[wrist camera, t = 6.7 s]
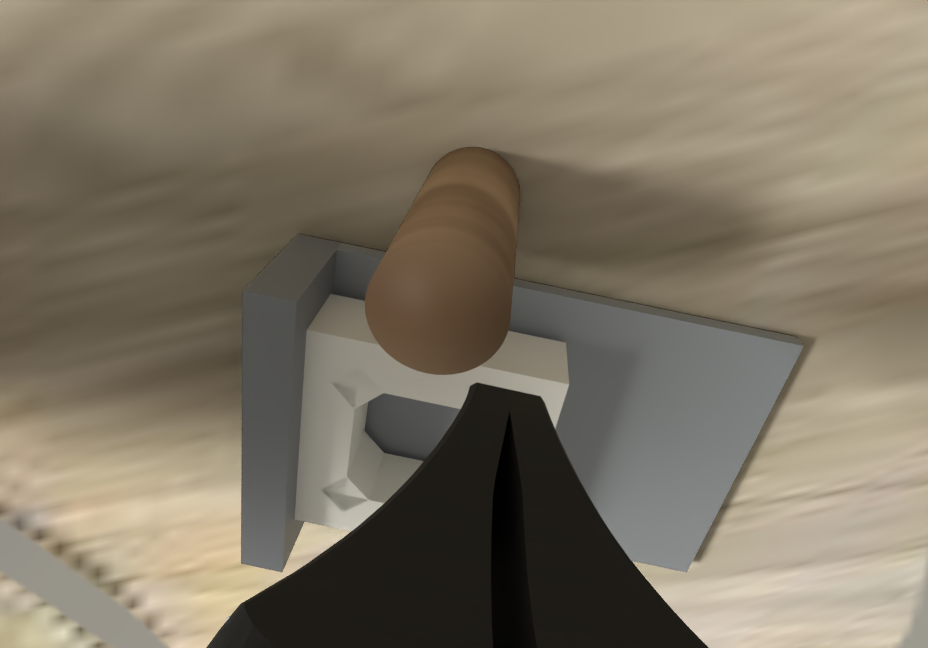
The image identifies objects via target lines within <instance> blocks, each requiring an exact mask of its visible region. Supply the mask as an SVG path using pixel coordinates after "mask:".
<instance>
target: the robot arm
mask: <svg viewBox="0 0 928 648" xmlns="http://www.w3.org/2000/svg"><path fill="white" fill-rule="evenodd" d="M207 648H708V647H707V646H706V645H705V644H704V643H703V642H702V641H701V640H700V639H699V638H698V637H697V636H696V635H695V633H694V632H693V631H692V630H691V629H690V628H689V627H688V626H687V625H686V624H685V623H684V622H683V621H682V620H681V619H680V618H679V617H678V615H677V614H676V613H675V612H674V611H673V610H672V609H671V608H670V607H669V605H668V604H667V603H666V602H665V601H664V600H663V598H662V597H661V596H660V595H659V594H658V593H657V591H656V590H655V589H654V588H653V587H652V586H651V584H650V583H649V582H648V581H647V580H646V579H645V577H644V576H643V575H642V574H641V572H640V571H639V570H638V569H637V567H636V566H635V565H634V563H633V562H632V561H631V560H630V558H629V557H628V556H627V554H626V553H625V551H624V550H623V549H622V547H621V546H620V544H619V543H618V542H617V540H616V539H615V537H614V536H613V534H612V533H611V531H610V530H609V528H608V527H607V525H606V524H605V522H604V521H603V519H602V517H601V516H600V514H599V513H598V511H597V509H596V507H595V506H594V504H593V502H592V501H591V499H590V497H589V496H588V494H587V492H586V490H585V489H584V487H583V485H582V483H581V481H580V479H579V477H578V476H577V474H576V472H575V470H574V468H573V466H572V464H571V462H570V460H569V458H568V456H567V454H566V452H565V450H564V448H563V445H562V443H561V441H560V439H559V437H558V434H557V432H556V430H555V427H554V425H553V423H552V420H551V418H550V415H549V413H548V410H547V407H546V405H545V402H544V401H543V399H542V398H541V396H537V395H533V394H528V393H524V392H519V391H514V390H510V389H505V388H501V387H496V386H491V385H487V384H482V383H478V382H477V383H475V384H473V385H471V386H470V387H469V391H468V394H467V397H466V399H465V402H464V404H463V406H462V408H461V409H460V411H459V413H458V415H457V416H456V418H455V420H454V421H453V423H452V424H451V426H450V427H449V429H448V430H447V431H446V433H445V434H444V436H443V437H442V439H441V440H440V442H439V443H438V444H437V446H436V447H435V448H434V450H433V451H432V452H431V453H430V454H429V456H428V457H427V458H426V459H425V460H424V462H423V463H422V464H421V465H420V466H419V468H418V469H417V470H416V471H415V472H414V473H413V475H412V476H411V477H410V478H409V479H408V480H407V481H406V482H405V483H404V484H403V485H402V486H401V487H400V488H399V489H398V490H397V491H396V492H395V493H394V494H393V495H392V496H391V497H390V498H389V499H388V500H387V501H386V502H385V503H384V504H383V505H382V506H381V507H380V508H378V509H377V510H376V511H375V512H374V513H373V514H372V515H370V516H369V517H368V518H367V519H366V520H365V521H364V522H362V523H361V524H360V525H359V526H358V527H356V528H355V529H354V530H353V531H351V532H350V533H349V534H348V535H346V536H345V537H344V538H343V539H341V540H340V541H338V542H337V543H336V544H334V545H333V546H331V547H330V548H329V549H327V550H326V551H324V552H323V553H322V554H320V555H319V556H317V557H316V558H315V559H313V560H312V561H310V562H309V563H308V564H306V565H305V566H303V567H302V568H300V569H298V570H297V571H295V572H294V573H292V574H291V575H289V576H287V577H285V578H284V579H282V580H280V581H279V582H277V583H275V584H274V585H272V586H270V587H269V588H267V589H265V590H263V591H262V592H260V593H258V594H257V595H255V596H253V597H252V598H250V599H248V600H246V601H245V602H243V603H241V604H240V605H239V607H238V608H237V609H236V610H235V611H234V612H233V614H232V615H231V616H229V617H228V618H227V620H226V622H225V624H224V625H223V626H222V627H221V629H220V630H219V631H218V633H217V634H216V635H215V637H214V638H213V639H212V641H211V642H210V644H209V645H208V646H207Z"/></svg>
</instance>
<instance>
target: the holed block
mask: <svg viewBox="0 0 928 648" xmlns="http://www.w3.org/2000/svg"><path fill="white" fill-rule="evenodd" d="M477 382H478V383H482V384H487V385H491V386H496V387H501V388H505V389H510V390H514V391H519V392H524V393H528V394H533V395H537V396H541V398H542V399H543V401H544V402H545V405H546V407H547V410H548V413H549V415H550V418H551V420H552V423H553V425H554V427H555V428H556V425H557V421H558V418H559V415H560V412H561V409H562V406H563V402H564V399H565V396H566V393H567V390H568V387H569V376H568V363H567V350H566V343H565V342H560V341H555V340H551V339H546V338H541V337H536V336H531V335H527V334H522V333H517V332H512V331H508V333H507V336H506V338H505V340H504V342H503V344H502V345H501V347H500V348H499V350H498V351H497V352H496V353H495V354H494V355H493V356H492V357H491V358H490V359H489V360H488V361H486V362H485V363H483V364H482V365H480V366H478V367H476V368H474V369H472V370H469V371H466V372H463V373H458V374H451V375H435V374H428V373H423V372H420V371H416V370H414V369H411V368H409V367H407V366H405V365H403V364H401V363H399V362H398V361H396V360H395V359H393V358H392V357H391V356H390V355H389V354H387V353H386V352H385V350H384V349H383V348H382V347H381V346H380V345H379V344H378V342H377V341H376V340H375V338H374V336H373V334H372V332H371V330H370V328H369V325H368V322H367V318H366V313H365V301H363V300H358V299H353V298H348V297H344V296H339V295H334V294H330V296H329V297H328V299H327V300H326V302H325V303H324V305H323V306H322V308H321V309H320V311H319V312H318V314H317V315H316V317H315V318H314V320H313V321H312V323H311V324H310V326H309V327H308V328H307V331H306V347H305V363H304V379H303V394H302V410H301V426H300V442H299V458H298V473H297V489H296V505H295V520H300V521H304V522H309V523H314V524H319V525H323V526H328V527H333V528H338V529H342V530H347V531H353V530H354V529H355V528H356V527H358V526H359V525H360V524H361V523H362V522H364V521H365V520H366V519H367V518H368V517H369V516H370V515H372V514H373V513H374V512H375V511H376V510H377V509H378V508H380V507H381V506H382V505H383V504H384V503H385V502H386V501H387V500H388V499H389V498H390V497H391V496H392V495H393V494H394V493H395V492H396V491H397V490H398V489H399V488H400V487H401V486H402V485H403V484H404V483H405V482H406V481H407V480H408V479H409V478H410V477H411V476H412V475H413V473H414V472H415V471H416V470H417V469H418V468H419V466H420V465H421V464H422V463H423V462H424V461H421V460H416V459H411V458H406V457H401V456H397V455H392V454H387V453H384V452H383V451H382V450H381V449H380V448H379V447H378V446H377V444H376V443H375V442H374V441H373V440H372V439H371V438H370V437H369V435H368V434H367V433H366V432H365V424H366V416H367V408H368V401H370V400H372V399H374V398H376V397H377V396H379V395H381V394H383V393H386V394H390V395H395V396H400V397H405V398H410V399H414V400H419V401H424V402H429V403H434V404H438V405H443V406H448V407H453V408H458V409H461V408H462V406H463V404H464V402H465V399H466V397H467V394H468V391H469V387H470V386H471V385H473V384H475V383H477Z"/></svg>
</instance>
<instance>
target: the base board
mask: <svg viewBox="0 0 928 648" xmlns="http://www.w3.org/2000/svg"><path fill="white" fill-rule="evenodd" d="M385 253H386V252H384V251H379V250H374V249H370V248H365V247H360V246H355V245H350V244H345V243H341V242H336V241H331V240H326V239H321V238H317V237H312V236H307V235H302V234H297V235H296V236H295V237H294V238H293V239H292V240H291V241H290V242H289V243H288V245H287V246H286V247H285V248H284V249H283V250H282V251H281V252H280V253H279V254H278V255H277V256H276V257H275V258H274V259H273V260H272V261H271V262H270V263H269V264H268V265H267V266H266V267H265V268H264V269H263V270H262V271H261V272H260V274H259V275H258V276H257V277H256V278H255V279H254V280H253V281H252V282H251V283H250V284H249V285H248V286H247V287H246V288H245V289H244V290H243V310H242V490H241V564H246V565H250V566H255V567H260V568H265V569H269V570H274V571H279V572H283V569H284V567H285V565H286V562H287V560H288V558H289V555H290V553H291V551H292V549H293V546H294V544H295V542H296V539H297V537H298V535H299V533H300V530H301V528H302V526H303V523H304V521H300V520H295V505H296V489H297V473H298V458H299V442H300V426H301V410H302V394H303V379H304V363H305V347H306V331H307V328H308V327H309V326H310V324H311V323H312V321H313V320H314V318H315V317H316V315H317V314H318V312H319V311H320V309H321V308H322V306H323V305H324V303H325V302H326V300H327V299H328V297H329V296H330V294H334V295H339V296H344V297H348V298H353V299H358V300H363V301H365V297H366V291H367V288H368V285H369V282H370V280H371V278H372V277H373V275H374V273H375V271H376V269H377V267H378V266H379V264H380V262H381V260H382V258H383V257H384V255H385ZM508 331H512V332H517V333H522V334H527V335H531V336H536V337H541V338H546V339H551V340H555V341H560V342H565V343H566V350H567V363H568V376H569V387H568V390H567V393H566V396H565V399H564V402H563V406H562V409H561V412H560V415H559V418H558V421H557V425H556V428H555V430H556V432H557V434H558V437H559V439H560V441H561V443H562V445H563V448H564V450H565V452H566V454H567V456H568V458H569V460H570V462H571V464H572V466H573V468H574V470H575V472H576V474H577V476H578V477H579V479H580V481H581V483H582V485H583V487H584V489H585V490H586V492H587V494H588V496H589V497H590V499H591V501H592V502H593V504H594V506H595V507H596V509H597V511H598V513H599V514H600V516H601V517H602V519H603V521H604V522H605V524H606V525H607V527H608V528H609V530H610V531H611V533H612V534H613V536H614V537H615V539H616V540H617V542H618V543H619V544H620V546H621V547H622V549H623V550H624V551H625V553H626V554H627V556H628V557H629V558H630V560H631V561H635V562H640V563H645V564H649V565H654V566H659V567H664V568H668V569H673V570H678V571H683V572H687V571H688V569H689V567H690V565H691V563H692V561H693V559H694V557H695V555H696V553H697V552H698V550H699V548H700V546H701V544H702V542H703V540H704V538H705V536H706V534H707V532H708V530H709V528H710V526H711V525H712V523H713V521H714V519H715V517H716V515H717V513H718V511H719V509H720V507H721V505H722V503H723V501H724V499H725V498H726V496H727V494H728V492H729V490H730V488H731V486H732V484H733V482H734V480H735V478H736V476H737V474H738V472H739V471H740V469H741V467H742V465H743V463H744V461H745V459H746V457H747V455H748V453H749V451H750V449H751V447H752V445H753V444H754V442H755V440H756V438H757V436H758V434H759V432H760V430H761V428H762V426H763V424H764V422H765V420H766V418H767V417H768V415H769V413H770V411H771V409H772V407H773V405H774V403H775V401H776V399H777V397H778V395H779V393H780V391H781V389H782V388H783V386H784V384H785V382H786V380H787V378H788V376H789V374H790V372H791V370H792V368H793V366H794V364H795V362H796V361H797V359H798V357H799V355H800V353H801V351H802V349H803V347H804V346H803V344H802V343H801V341H800V340H799V339H798V337H795V336H790V335H785V334H780V333H775V332H770V331H766V330H761V329H756V328H751V327H746V326H741V325H737V324H732V323H727V322H722V321H717V320H712V319H708V318H703V317H698V316H693V315H688V314H683V313H679V312H674V311H669V310H664V309H659V308H655V307H650V306H645V305H640V304H635V303H630V302H626V301H621V300H616V299H611V298H606V297H601V296H597V295H592V294H587V293H582V292H577V291H572V290H568V289H563V288H558V287H553V286H548V285H543V284H539V283H534V282H529V281H524V280H519V279H514V282H513V294H512V307H511V319H510V326H509V330H508ZM459 411H460V409H458V408H453V407H448V406H443V405H438V404H434V403H429V402H424V401H419V400H414V399H410V398H405V397H400V396H395V395H390V394H386V393H383V394H381V395H379V396H377V397H376V398H374V399H372V400H370V401H368V408H367V416H366V424H365V432H366V433H367V434H368V435H369V437H370V438H371V439H372V440H373V441H374V442H375V443H376V444H377V446H378V447H379V448H380V449H381V450H382V451H383V452H384V453H387V454H392V455H397V456H401V457H406V458H411V459H416V460H421V461H424V460H425V459H426V458H427V457H428V456H429V454H430V453H431V452H432V451H433V450H434V448H435V447H436V446H437V444H438V443H439V442H440V440H441V439H442V437H443V436H444V434H445V433H446V431H447V430H448V429H449V427H450V426H451V424H452V423H453V421H454V420H455V418H456V416H457V415H458V413H459Z"/></svg>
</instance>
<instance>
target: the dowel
mask: <svg viewBox="0 0 928 648" xmlns="http://www.w3.org/2000/svg"><path fill="white" fill-rule="evenodd" d="M519 207H520V186H519V182H518V179H517V177H516V174H515V172H514V171H513V169H512V168H511V166H510V165H509V164H508V163H507V162H506V161H505V160H504V159H503V158H502V157H500V156H499V155H497V154H496V153H494V152H492V151H489V150H487V149H483V148H477V147H466V148H461V149H457V150H454V151H452V152H450V153H448V154H446V155H445V156H443V157H442V158H441V159H440V160H439V161H438V162H437V163H436V164H435V165H434V167H433V168H432V170H431V172H430V174H429V175H428V177H427V179H426V181H425V183H424V184H423V186H422V188H421V190H420V192H419V193H418V195H417V197H416V199H415V201H414V202H413V204H412V206H411V208H410V210H409V211H408V213H407V215H406V217H405V219H404V220H403V222H402V224H401V226H400V228H399V230H398V231H397V233H396V235H395V237H394V239H393V240H392V242H391V244H390V246H389V248H388V249H387V251H386V253H385V255H384V257H383V258H382V260H381V262H380V264H379V266H378V267H377V269H376V271H375V273H374V275H373V277H372V278H371V280H370V282H369V285H368V288H367V291H366V297H365V313H366V318H367V322H368V325H369V328H370V330H371V332H372V334H373V336H374V338H375V340H376V341H377V342H378V344H379V345H380V346H381V347H382V348H383V349H384V350H385V352H386V353H387V354H389V355H390V356H391V357H392V358H393V359H395V360H396V361H398V362H399V363H401V364H403V365H405V366H407V367H409V368H411V369H414V370H416V371H420V372H423V373H428V374H435V375H451V374H458V373H463V372H466V371H469V370H472V369H474V368H476V367H478V366H480V365H482V364H483V363H485V362H486V361H488V360H489V359H490V358H491V357H492V356H493V355H494V354H495V353H496V352H497V351H498V350H499V348H500V347H501V345H502V344H503V342H504V340H505V338H506V336H507V333H508V330H509V326H510V319H511V307H512V294H513V282H514V269H515V257H516V245H517V232H518V220H519Z"/></svg>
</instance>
